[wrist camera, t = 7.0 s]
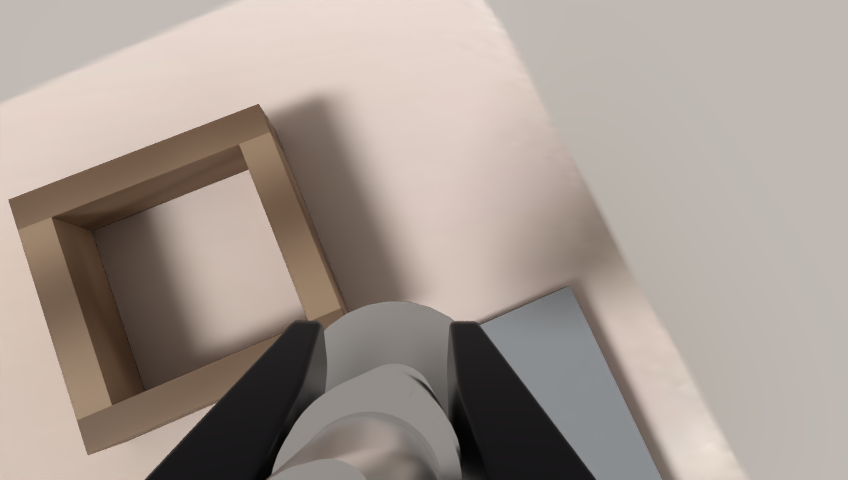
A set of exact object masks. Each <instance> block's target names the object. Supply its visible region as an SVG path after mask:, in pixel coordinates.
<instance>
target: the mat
mask: <svg viewBox="0 0 848 480" xmlns="http://www.w3.org/2000/svg"><path fill="white" fill-rule="evenodd" d="M480 326H481V327H482V329H483V330H484V331H485V333H486V334H487V335H488V337H489V338H490V339H491V341H492V342H493V343H494V345H495V346H496V347H497V349H498V350H499V351H500V353H501V354H502V355H503V356H504V358H505V359H506V360H507V362H508V363H509V364H510V366H511V367H512V368H513V370H514V371H515V372H516V374H517V375H518V376H519V378H520V379H521V380H522V382H523V383H524V384H525V386H526V387H527V388H528V390H529V391H530V392H531V394H532V395H533V396H534V397H535V399H536V400H537V401H538V403H539V404H540V405H541V407H542V408H543V409H544V411H545V412H546V413H547V415H548V416H549V417H550V419H551V420H552V421H553V423H554V424H555V425H556V427H557V428H558V429H559V431H560V432H561V433H562V434H563V436H564V437H565V438H566V440H567V441H568V442H569V444H570V445H571V446H572V448H573V449H574V450H575V452H576V453H577V454H578V456H579V457H580V458H581V460H582V461H583V462H584V464H585V465H586V466H587V468H588V469H589V470H590V471H591V473H592V474H593V475H594V477H595V478H596V479H597V480H662V478H661V476H660V474H659V472H658V470H657V468H656V465H655V463H654V461H653V459H652V457H651V455H650V453H649V451H648V449H647V447H646V444H645V442H644V440H643V438H642V436H641V434H640V432H639V430H638V428H637V426H636V423H635V421H634V419H633V417H632V415H631V413H630V411H629V409H628V407H627V405H626V403H625V400H624V398H623V396H622V394H621V392H620V390H619V388H618V386H617V384H616V382H615V379H614V377H613V375H612V373H611V371H610V369H609V367H608V365H607V363H606V361H605V358H604V356H603V354H602V352H601V350H600V348H599V346H598V344H597V342H596V340H595V337H594V335H593V333H592V331H591V329H590V327H589V325H588V323H587V321H586V319H585V316H584V314H583V312H582V310H581V308H580V306H579V304H578V302H577V300H576V298H575V295H574V293H573V291H572V289H571V287H570V286H568V287H565V288H563V289H560V290H558V291H556V292H554V293H551V294H549V295H547V296H544V297H542V298H540V299H538V300H535V301H533V302H531V303H529V304H526V305H524V306H522V307H519V308H517V309H515V310H513V311H510V312H508V313H506V314H503V315H501V316H499V317H497V318H494V319H492V320H490V321H488V322H485V323H483V324H481V325H480Z"/></svg>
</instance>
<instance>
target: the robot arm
mask: <svg viewBox="0 0 848 480" xmlns="http://www.w3.org/2000/svg"><path fill="white" fill-rule="evenodd" d="M326 379H327V355H326V346H325V337H324V328H323V324H322V323H321V322H320V321H303V320H298V321H295V322H293V323H292V324H291V325H290V326H289V327H288V328H287V329H286V330H285V331H284V332H283V333H282V334H281V335H280V336H279V337H278V339H277V340H276V341H275V342H274V343H273V344H272V345H271V346H270V347H269V348H268V349H267V350H266V351H265V352H264V353H263V354H262V356H261V357H260V358H259V359H258V360H257V361H256V362H255V363H254V364H253V365H252V366H251V367H250V368H249V369H248V370H247V371H246V373H245V374H244V375H243V376H242V377H241V378H240V379H239V380H238V381H237V382H236V383H235V384H234V385H233V386H232V387H231V388H230V390H229V391H228V392H227V393H226V394H225V395H224V396H223V397H222V398H221V399H220V400H219V401H218V402H217V403H216V404H215V405H214V407H213V408H212V409H211V410H210V411H209V412H208V413H207V414H206V415H205V416H204V417H203V418H202V419H201V420H200V421H199V422H198V423H197V425H196V426H195V427H194V428H193V429H192V430H191V431H190V432H189V433H188V434H187V435H186V436H185V437H184V438H183V439H182V440H181V442H180V443H179V444H178V445H177V446H176V447H175V448H174V449H173V450H172V451H171V452H170V453H169V454H168V455H167V456H166V457H165V459H164V460H163V461H162V462H161V463H160V464H159V465H158V466H157V467H156V468H155V469H154V470H153V471H152V472H151V473H150V474H149V476H148V477H147V478H146V479H145V480H266V479H267V478H269V477H270V476H271V475H272V470H273V467H274V464H275V461H276V458H277V455H278V453H279V451H280V449H281V447H282V445H283V443H284V441H285V439H286V438H287V437H288V435H289V433H290V431H291V429H292V428H293V426H294V424H295V423H296V421H297V420H298V419H299V417H300V416H301V415H302V413H303V412H304V411H305V410H306V409H307V408H308V407H309V406H310V405H311V404H312V403H313V402H314V401H315V400H317V399H318V398H319V397H321V396H322V395H323V394H325V388H326ZM447 388H448V417H449V422H450V423H451V425H452V427H453V430H454V432H455V434H456V436H457V439H458V443H459V447H460V450H461V457H462V480H597V479H596V478H595V477H594V475H593V474H592V473H591V471H590V470H589V469H588V468H587V466H586V465H585V464H584V462H583V461H582V460H581V458H580V457H579V456H578V454H577V453H576V452H575V450H574V449H573V448H572V446H571V445H570V444H569V442H568V441H567V440H566V438H565V437H564V436H563V434H562V433H561V432H560V431H559V429H558V428H557V427H556V425H555V424H554V423H553V421H552V420H551V419H550V417H549V416H548V415H547V413H546V412H545V411H544V409H543V408H542V407H541V405H540V404H539V403H538V401H537V400H536V399H535V397H534V396H533V395H532V394H531V392H530V391H529V390H528V388H527V387H526V386H525V384H524V383H523V382H522V380H521V379H520V378H519V376H518V375H517V374H516V372H515V371H514V370H513V368H512V367H511V366H510V364H509V363H508V362H507V360H506V359H505V358H504V356H503V355H502V354H501V353H500V351H499V350H498V349H497V347H496V346H495V345H494V343H493V342H492V341H491V339H490V338H489V337H488V335H487V334H486V333H485V331H484V330H483V329H482V327H481V326H480V325H479V324H478V323H477V322H475V321H453V322H451V324H450V326H449V337H448V354H447Z"/></svg>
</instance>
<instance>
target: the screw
mask: <svg viewBox="0 0 848 480" xmlns="http://www.w3.org/2000/svg"><path fill="white" fill-rule="evenodd" d="M453 321H454V320H452V319H451V318H450V317H448V316H446V315H444V314H442V313H440V312H439V311H437V310H435V309H433V308H431V307H427V306H423V305H419V304H416V303H412V302H398V301H386V302H381V303H375V304H370V305H366V306H363V307H361V308H359V309H356V310H354V311H351V312H349V313H347V314H345V315H344V316H342V317H341V318H340V319H338V320H337V321H335V322H334V323H332V324H331V325H330V326H328V327H327V328H326V330H325V331H324V337H325V346H326V355H327V379H326V388H325V394H323V395H322V396H321V397H319V398H318V399H317V400H315V401H314V402H313V403H312V404H311V405H310V406H309V407H308V408H307V409H306V410H305V411H304V412H303V413H302V415H301V416H300V417H299V419H298V420H297V421H296V423H295V424H294V426H293V428H292V429H291V431H290V433H289V435H288V437H287V438H286V439H285V441H284V443H283V445H282V447H281V449H280V451H279V453H278V455H277V458H276V461H275V464H274V467H273V470H272V475H271V476H270V477H269V478H267V479H266V480H462V457H461V450H460V447H459V443H458V439H457V436H456V434H455V432H454V430H453V427H452V425H451V423H450V422H449V417H448V388H447V354H448V337H449V326H450V324H451V322H453Z"/></svg>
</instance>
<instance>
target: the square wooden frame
mask: <svg viewBox="0 0 848 480" xmlns="http://www.w3.org/2000/svg"><path fill="white" fill-rule="evenodd" d="M248 169H249V171H250V174H251V176H252V179H253V181H254V184H255V186H256V189H257V192H258V194H259V197H260V199H261V202H262V204H263V207H264V209H265V212H266V215H267V217H268V220H269V222H270V225H271V227H272V230H273V232H274V235H275V238H276V240H277V243H278V245H279V248H280V250H281V253H282V255H283V258H284V261H285V263H286V266H287V268H288V271H289V273H290V276H291V278H292V281H293V284H294V286H295V289H296V291H297V294H298V296H299V299H300V302H301V304H302V307H303V309H304V312H305V314H306V317H307V319H308V321H320V322H321V323H322V324H323V328H324V331H325V330H326V328H327V327H328V326H330V325H331V324H332V323H334V322H335V321H337V320H338V319H340V318H341V317H342V316H344V315H345V314H347V313H349V311H348V309H347V306H346V304H345V301H344V299H343V297H342V294H341V292H340V289H339V287H338V284H337V282H336V279H335V277H334V274H333V272H332V269H331V267H330V264H329V262H328V259H327V257H326V255H325V252H324V250H323V247H322V245H321V242H320V240H319V237H318V235H317V232H316V230H315V227H314V225H313V222H312V220H311V217H310V215H309V213H308V210H307V208H306V205H305V203H304V200H303V198H302V195H301V193H300V190H299V188H298V185H297V183H296V180H295V178H294V175H293V173H292V170H291V168H290V166H289V163H288V161H287V158H286V156H285V153H284V151H283V148H282V146H281V143H280V141H279V138H278V136H277V133H276V131H275V129H274V127H273V126H272V124H271V123H270V121H269V119H268V118H267V116H266V115H265V113H264V112H263V110H262V108H261V107H260V105H259V104H257V105H254V106H252V107H249V108H247V109H244V110H241V111H239V112H236V113H234V114H231V115H228V116H226V117H223V118H220V119H218V120H215V121H213V122H210V123H207V124H205V125H202V126H200V127H197V128H194V129H192V130H189V131H187V132H184V133H181V134H179V135H176V136H174V137H171V138H168V139H166V140H163V141H160V142H158V143H155V144H153V145H150V146H147V147H145V148H142V149H140V150H137V151H134V152H132V153H129V154H127V155H124V156H121V157H119V158H116V159H113V160H111V161H108V162H106V163H103V164H100V165H98V166H95V167H93V168H90V169H87V170H85V171H82V172H80V173H77V174H74V175H72V176H69V177H66V178H64V179H61V180H59V181H56V182H53V183H51V184H48V185H46V186H43V187H40V188H38V189H35V190H33V191H30V192H27V193H25V194H22V195H20V196H17V197H14V198H12V199H9V203H10V207H11V210H12V213H13V216H14V219H15V223H16V226H17V229H18V232H19V236H20V239H21V242H22V245H23V248H24V252H25V255H26V258H27V261H28V264H29V268H30V271H31V274H32V277H33V281H34V284H35V287H36V290H37V293H38V297H39V300H40V303H41V306H42V310H43V313H44V316H45V319H46V322H47V326H48V329H49V332H50V335H51V338H52V342H53V345H54V348H55V351H56V355H57V358H58V361H59V364H60V367H61V371H62V374H63V377H64V380H65V384H66V387H67V390H68V393H69V396H70V400H71V403H72V406H73V409H74V412H75V416H76V419H77V422H78V425H79V429H80V432H81V435H82V438H83V441H84V445H85V448H86V451H87V454H88V455H90V454H93V453H96V452H99V451H101V450H104V449H107V448H110V447H113V446H116V445H118V444H121V443H124V442H127V441H129V440H131V439H134V438H136V437H138V436H141V435H143V434H145V433H148V432H150V431H152V430H155V429H157V428H159V427H161V426H164V425H166V424H168V423H171V422H173V421H175V420H178V419H180V418H182V417H185V416H187V415H189V414H191V413H194V412H196V411H198V410H201V409H203V408H205V407H208V406H210V405H212V404H215V403H217V402H218V401H219V400H220V399H221V398H222V397H223V396H224V395H225V394H226V393H227V392H228V391H229V390H230V388H231V387H232V386H233V385H234V384H235V383H236V382H237V381H238V380H239V379H240V378H241V377H242V376H243V375H244V374H245V373H246V371H247V370H248V369H249V368H250V367H251V366H252V365H253V364H254V363H255V362H256V361H257V360H258V359H259V358H260V357H261V356H262V354H263V353H264V352H265V351H266V350H267V349H268V348H269V347H270V346H271V345H272V344H273V343H274V342H275V341H276V340H277V339H278V337H279V336H280V335H281V334H282V333H281V334H279V335H276V336H274V337H272V338H269V339H267V340H265V341H262V342H260V343H258V344H255V345H253V346H250V347H248V348H246V349H243V350H241V351H239V352H236V353H234V354H232V355H229V356H227V357H225V358H222V359H220V360H218V361H215V362H213V363H211V364H208V365H206V366H203V367H201V368H199V369H196V370H194V371H192V372H189V373H187V374H185V375H182V376H180V377H178V378H175V379H173V380H171V381H168V382H166V383H164V384H161V385H159V386H156V387H154V388H152V389H149V390H147V391H145V390H144V387H143V384H142V381H141V378H140V375H139V372H138V369H137V366H136V363H135V360H134V357H133V354H132V351H131V348H130V345H129V342H128V339H127V336H126V333H125V330H124V327H123V324H122V321H121V318H120V315H119V312H118V309H117V306H116V303H115V300H114V297H113V294H112V291H111V288H110V285H109V282H108V279H107V276H106V273H105V270H104V267H103V264H102V261H101V258H100V255H99V252H98V249H97V246H96V243H95V240H94V237H93V234H92V231H93V230H95V229H98V228H101V227H103V226H106V225H108V224H111V223H113V222H116V221H118V220H121V219H123V218H126V217H128V216H131V215H134V214H136V213H139V212H141V211H144V210H146V209H149V208H151V207H154V206H156V205H159V204H161V203H164V202H167V201H169V200H172V199H174V198H177V197H179V196H182V195H184V194H187V193H189V192H192V191H194V190H197V189H200V188H202V187H205V186H207V185H210V184H212V183H215V182H217V181H220V180H222V179H225V178H227V177H230V176H233V175H235V174H238V173H240V172H243V171H245V170H248Z"/></svg>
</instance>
